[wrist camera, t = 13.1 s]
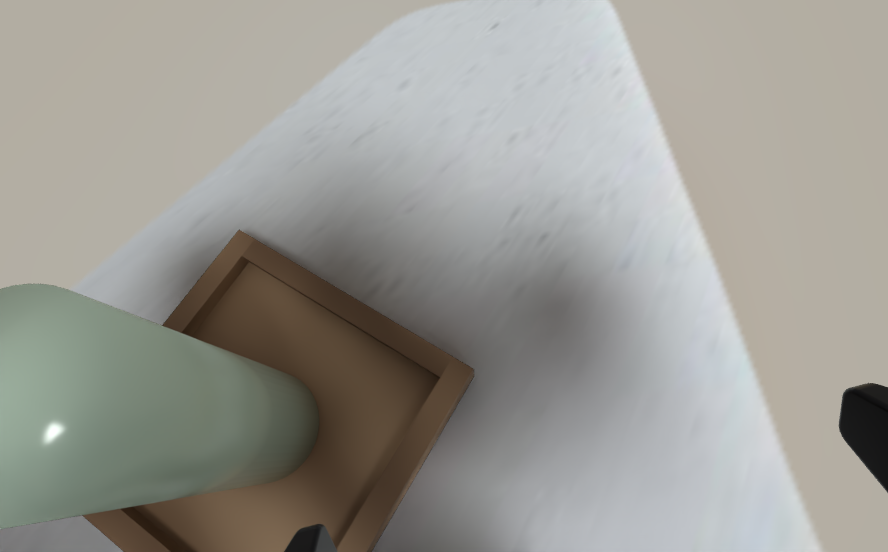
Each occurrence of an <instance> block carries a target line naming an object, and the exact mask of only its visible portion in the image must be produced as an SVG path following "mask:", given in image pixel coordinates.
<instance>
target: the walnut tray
mask: <svg viewBox="0 0 888 552" xmlns="http://www.w3.org/2000/svg"><path fill="white" fill-rule="evenodd" d="M162 326H164V327H167V328H169V329H172V330H175V331H177V332H180V333H182V334H185V335H188V336H190V337H193V338H196V339H198V340H201V341H203V342H206V343H209V344H211V345H214V346H216V347H219V348H222V349H224V350H227V351H230V352H232V353H235V354H237V355H240V356H243V357H245V358H248V359H250V360H253V361H256V362H258V363H261V364H264V365H266V366H269V367H271V368H274V369H277V370H279V371H282V372H284V373H287V374H290V375H292V376H294V377H296V378H297V379H299V380H300V381H302V382H303V383H304V384H305V385H306V386H307V387H308V388H309V390H310V391H311V393H312V394H313V396H314V398H315V401H316V403H317V407H318V412H319V431H318V435H317V439H316V442H315V445H314V447H313V449H312V451H311V453H310V454H309V456H308V457H307V459H306V460H305V461H304V462H303V464H302V465H301V466H300V467H299V468H298V469H297V470H295V471H294V472H293V473H291V474H290V475H288V476H287V477H285V478H283V479H280V480H278V481H275V482H271V483H266V484H260V485H255V486H249V487H243V488H237V489H231V490H226V491H220V492H214V493H208V494H202V495H197V496H191V497H185V498H179V499H173V500H167V501H162V502H156V503H150V504H144V505H138V506H133V507H127V508H121V509H115V510H109V511H104V512H98V513H92V514H86V515H82V516H83V517H85V518H86V519H87V520H88V521H89V522H90V523H92V524H93V525H94V526H95V527H96V528H97V529H98V530H100V531H101V532H102V533H103V534H104V535H105V536H107V537H108V538H109V539H110V540H111V541H112V542H114V543H115V544H116V545H117V546H118V547H119V548H120V549H122V550H123V551H124V552H284V550H285V549H286V547H287V546H288V544H289V543H290V541H291V539H292V538H293V536H294V535H295V533H296V532H297V531H298V530H299V529H301V528H304V527H307V526H311V525H315V524H323V525H324V526H325V527H326V529H327V531H328V533H329V535H330V537H331V539H332V541H333V543H334V545H335V547H336V549H337V552H372V550H373V548H374V547H375V545H376V543H377V542H378V540H379V538H380V536H381V535H382V533H383V531H384V530H385V528H386V526H387V524H388V523H389V521H390V519H391V518H392V516H393V514H394V512H395V511H396V509H397V507H398V506H399V504H400V502H401V500H402V499H403V497H404V495H405V494H406V492H407V490H408V489H409V487H410V485H411V483H412V482H413V480H414V478H415V477H416V475H417V473H418V471H419V470H420V468H421V466H422V465H423V463H424V461H425V459H426V458H427V456H428V454H429V453H430V451H431V449H432V447H433V446H434V444H435V442H436V441H437V439H438V437H439V435H440V434H441V432H442V430H443V429H444V427H445V425H446V424H447V422H448V420H449V418H450V417H451V415H452V413H453V412H454V410H455V408H456V406H457V405H458V403H459V401H460V400H461V398H462V396H463V394H464V393H465V391H466V389H467V388H468V386H469V384H470V382H471V381H472V379H473V377H474V371H473V368H471V367H469V366H468V365H466V364H464V363H463V362H461V361H459V360H458V359H456V358H454V357H453V356H451V355H449V354H447V353H446V352H444V351H442V350H441V349H439V348H437V347H436V346H434V345H432V344H431V343H429V342H427V341H426V340H424V339H422V338H421V337H419V336H417V335H416V334H414V333H412V332H410V331H409V330H407V329H405V328H404V327H402V326H400V325H399V324H397V323H395V322H394V321H392V320H390V319H389V318H387V317H385V316H384V315H382V314H380V313H379V312H377V311H375V310H374V309H372V308H370V307H368V306H367V305H365V304H363V303H362V302H360V301H358V300H357V299H355V298H353V297H352V296H350V295H348V294H347V293H345V292H343V291H342V290H340V289H338V288H337V287H335V286H333V285H331V284H330V283H328V282H326V281H325V280H323V279H321V278H320V277H318V276H316V275H315V274H313V273H311V272H310V271H308V270H306V269H305V268H303V267H301V266H300V265H298V264H296V263H294V262H293V261H291V260H289V259H288V258H286V257H284V256H283V255H281V254H279V253H278V252H276V251H274V250H273V249H271V248H269V247H268V246H266V245H264V244H263V243H261V242H259V241H257V240H256V239H254V238H252V237H251V236H249V235H247V234H246V233H244V232H242V231H241V230H238V231H237V233H236V234H235V235H234V236H233V238H232V239H231V240H230V241H229V243H228V244H227V245H226V246H225V248H224V249H223V250H222V251H221V253H220V254H219V255H218V256H217V258H216V259H215V260H214V261H213V263H212V264H211V265H210V266H209V268H208V269H207V270H206V271H205V273H204V274H203V275H202V276H201V278H200V279H199V280H198V281H197V283H196V284H195V285H194V286H193V288H192V289H191V290H190V291H189V293H188V294H187V295H186V296H185V298H184V299H183V300H182V301H181V303H180V304H179V305H178V306H177V308H176V309H175V310H174V311H173V313H172V314H171V315H170V316H169V318H168V319H167V320H166V321H165V323H164V324H163V325H162Z"/></svg>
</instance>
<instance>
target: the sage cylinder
mask: <svg viewBox="0 0 888 552" xmlns="http://www.w3.org/2000/svg"><path fill="white" fill-rule="evenodd" d="M318 431H319V412H318V407H317V403H316V401H315V398H314V396H313V394H312V393H311V391H310V390H309V388H308V387H307V386H306V385H305V384H304V383H303V382H302V381H300V380H299V379H297V378H296V377H294V376H292V375H290V374H287V373H284V372H282V371H279V370H277V369H274V368H271V367H269V366H266V365H264V364H261V363H258V362H256V361H253V360H250V359H248V358H245V357H243V356H240V355H237V354H235V353H232V352H230V351H227V350H224V349H222V348H219V347H216V346H214V345H211V344H209V343H206V342H203V341H201V340H198V339H196V338H193V337H190V336H188V335H185V334H182V333H180V332H177V331H175V330H172V329H169V328H167V327H164V326H162V325H159V324H156V323H154V322H151V321H148V320H146V319H143V318H141V317H138V316H135V315H133V314H130V313H128V312H125V311H122V310H120V309H117V308H114V307H112V306H109V305H107V304H104V303H101V302H99V301H96V300H94V299H91V298H88V297H86V296H83V295H80V294H78V293H75V292H73V291H70V290H67V289H64V288H61V287H57V286H53V285H46V284H23V285H15V286H10V287H6V288H2V289H0V529H5V528H11V527H17V526H22V525H28V524H34V523H40V522H46V521H51V520H57V519H63V518H69V517H75V516H80V515H86V514H92V513H98V512H104V511H109V510H115V509H121V508H127V507H133V506H138V505H144V504H150V503H156V502H162V501H167V500H173V499H179V498H185V497H191V496H197V495H202V494H208V493H214V492H220V491H226V490H231V489H237V488H243V487H249V486H255V485H260V484H266V483H271V482H275V481H278V480H280V479H283V478H285V477H287V476H288V475H290V474H291V473H293V472H294V471H295V470H297V469H298V468H299V467H300V466H301V465H302V464H303V462H304V461H305V460H306V459H307V457H308V456H309V454H310V453H311V451H312V449H313V447H314V445H315V442H316V439H317V435H318Z"/></svg>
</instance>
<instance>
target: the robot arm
mask: <svg viewBox="0 0 888 552" xmlns="http://www.w3.org/2000/svg"><path fill="white" fill-rule="evenodd" d="M839 429H840V432H841V434H842V437H843V438H844V440H845V441H846V443H847V444H848V445H849V446H850V447H851V449H852V450H853V451H854V452H855V454H856V455H857V456H858V457H859V458H860V460H861V461H862V462H863V463H864V464H865V466H866V467H867V468H868V469H869V470H870V472H871V473H872V474H873V475H874V477H875V478H876V479H877V480H878V482H879V483H880V484H881V485H882V486H883V488H884V489H885V490H886V491H887V492H888V387H885V386H882V385H878V384H874V383H868V384H863V385H859V386H855V387H852V388H848V389H846V390H845V392H844V393H843V397H842V404H841V412H840V419H839ZM284 552H337V549H336V547H335V545H334V543H333V541H332V539H331V537H330V535H329V533H328V531H327V529H326V527H325V526H324V525H323V524H315V525H311V526H307V527H304V528H301V529H299V530H298V531H297V532H296V533H295V535H294V536H293V538H292V539H291V541H290V543H289V544H288V546H287V547H286V549H285V550H284Z"/></svg>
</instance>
